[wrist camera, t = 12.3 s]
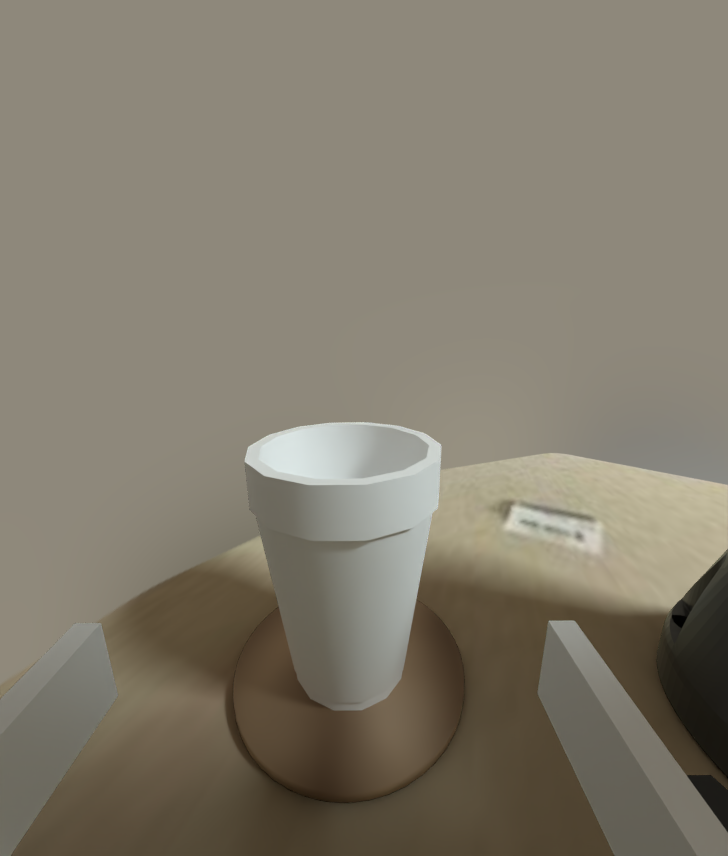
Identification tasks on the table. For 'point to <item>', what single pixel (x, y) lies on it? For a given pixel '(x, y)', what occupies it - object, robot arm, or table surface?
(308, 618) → the foam cup
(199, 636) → the table surface
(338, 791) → the coaster
